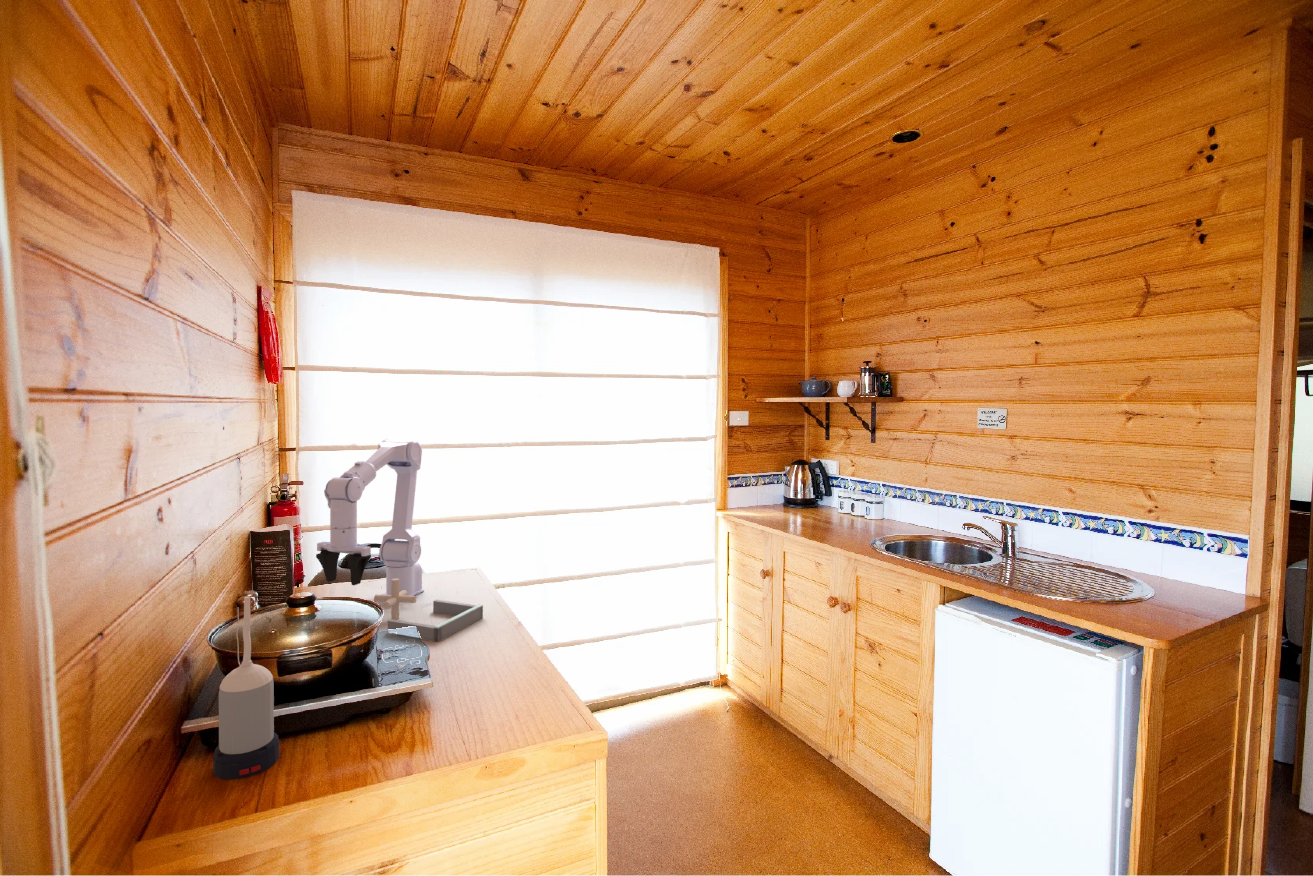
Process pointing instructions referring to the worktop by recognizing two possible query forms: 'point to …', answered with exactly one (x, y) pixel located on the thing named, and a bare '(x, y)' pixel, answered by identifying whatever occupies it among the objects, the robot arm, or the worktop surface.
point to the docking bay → (463, 618)
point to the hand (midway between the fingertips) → (343, 582)
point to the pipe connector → (395, 599)
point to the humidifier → (246, 716)
